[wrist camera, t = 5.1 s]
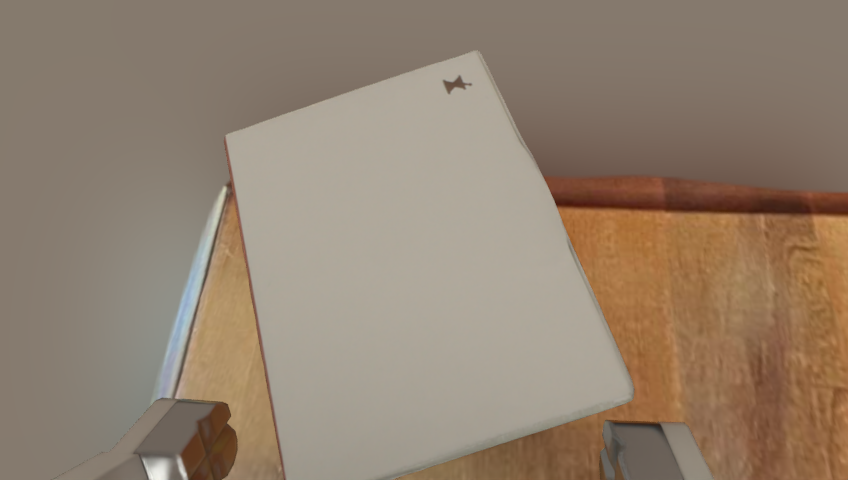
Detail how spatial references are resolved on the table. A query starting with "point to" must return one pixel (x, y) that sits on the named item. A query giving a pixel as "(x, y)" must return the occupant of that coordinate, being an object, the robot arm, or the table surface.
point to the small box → (413, 279)
